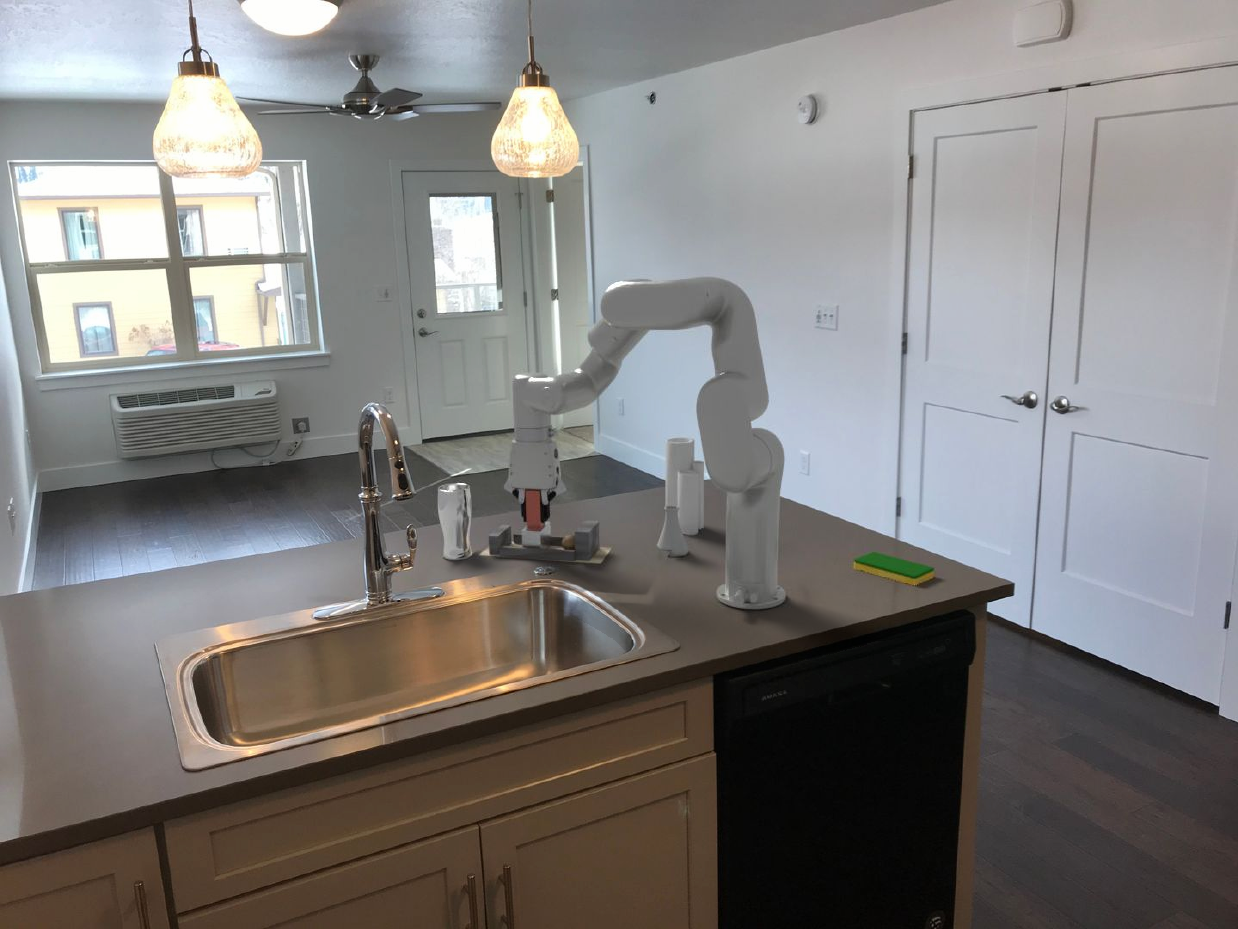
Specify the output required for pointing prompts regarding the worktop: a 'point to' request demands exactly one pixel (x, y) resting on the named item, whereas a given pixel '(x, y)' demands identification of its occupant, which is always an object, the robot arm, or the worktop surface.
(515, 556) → the cracker board
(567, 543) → the walnut
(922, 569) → the dish sponge
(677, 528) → the flask
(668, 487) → the vase
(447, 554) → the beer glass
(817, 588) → the worktop surface
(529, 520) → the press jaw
